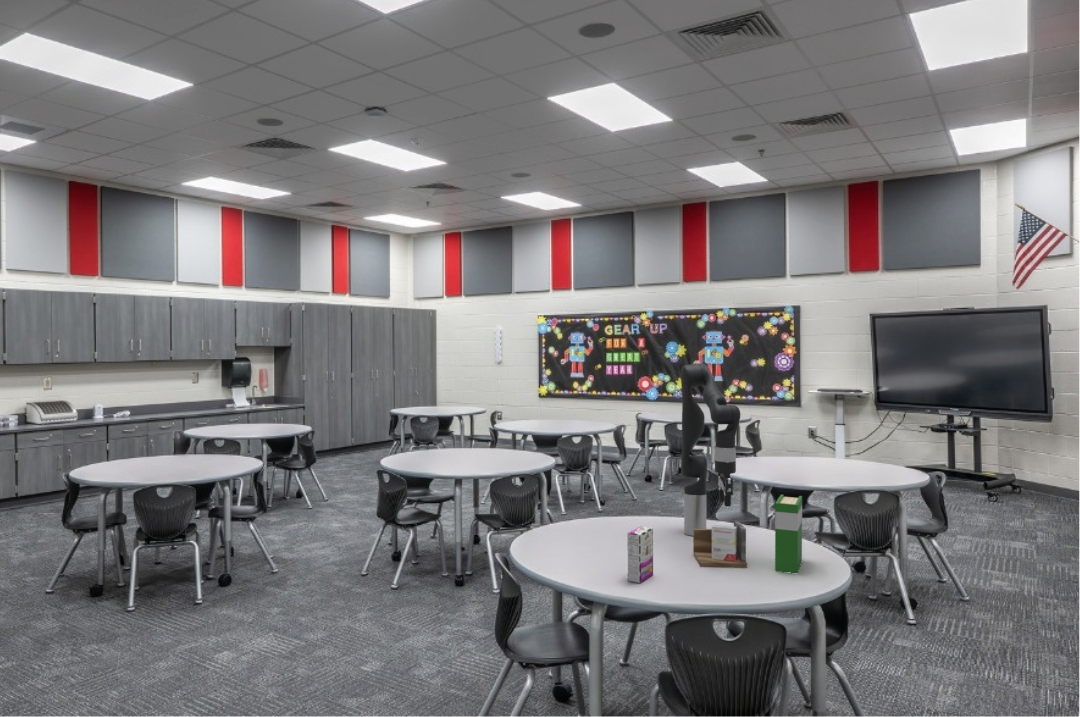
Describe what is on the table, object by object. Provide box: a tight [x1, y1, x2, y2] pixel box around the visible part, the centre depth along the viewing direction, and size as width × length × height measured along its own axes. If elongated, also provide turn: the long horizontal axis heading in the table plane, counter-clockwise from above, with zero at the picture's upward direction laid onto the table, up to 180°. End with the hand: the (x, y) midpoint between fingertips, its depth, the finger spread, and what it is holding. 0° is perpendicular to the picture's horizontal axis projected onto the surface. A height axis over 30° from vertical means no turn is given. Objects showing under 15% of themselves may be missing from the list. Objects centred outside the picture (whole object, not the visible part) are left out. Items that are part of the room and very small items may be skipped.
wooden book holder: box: [692, 520, 748, 569], centre depth 254 cm, size 15×16×14 cm
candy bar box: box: [627, 525, 654, 584], centre depth 233 cm, size 11×5×16 cm, turn 148°
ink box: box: [711, 524, 737, 561], centre depth 252 cm, size 9×5×12 cm, turn 66°
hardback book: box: [774, 494, 803, 574], centre depth 249 cm, size 18×7×24 cm, turn 155°
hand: (725, 503), depth 252 cm, fingers open, 8 cm apart
